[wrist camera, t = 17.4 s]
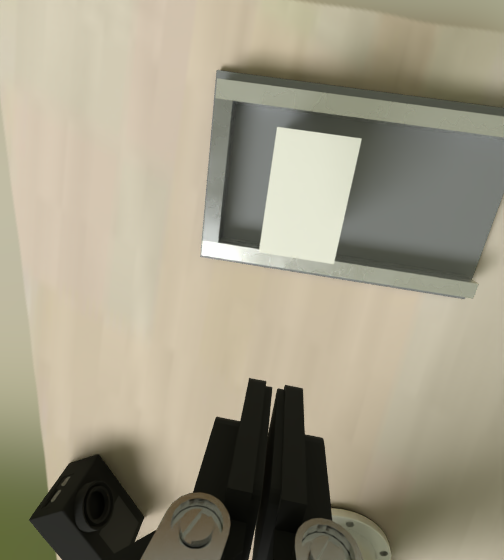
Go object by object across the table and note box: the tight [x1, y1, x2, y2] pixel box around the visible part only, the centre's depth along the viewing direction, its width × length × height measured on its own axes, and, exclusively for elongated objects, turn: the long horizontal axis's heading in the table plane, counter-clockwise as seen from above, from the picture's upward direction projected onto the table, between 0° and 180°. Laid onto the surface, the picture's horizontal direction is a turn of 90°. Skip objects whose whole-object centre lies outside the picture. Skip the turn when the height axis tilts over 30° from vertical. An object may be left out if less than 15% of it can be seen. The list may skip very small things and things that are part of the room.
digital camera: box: [29, 454, 144, 560], centre depth 39 cm, size 10×5×7 cm, turn 25°
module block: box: [259, 127, 362, 264], centre depth 24 cm, size 4×7×8 cm, turn 172°
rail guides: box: [202, 78, 504, 298], centre depth 27 cm, size 21×12×2 cm, turn 82°
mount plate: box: [200, 70, 504, 299], centre depth 28 cm, size 22×14×1 cm, turn 82°
